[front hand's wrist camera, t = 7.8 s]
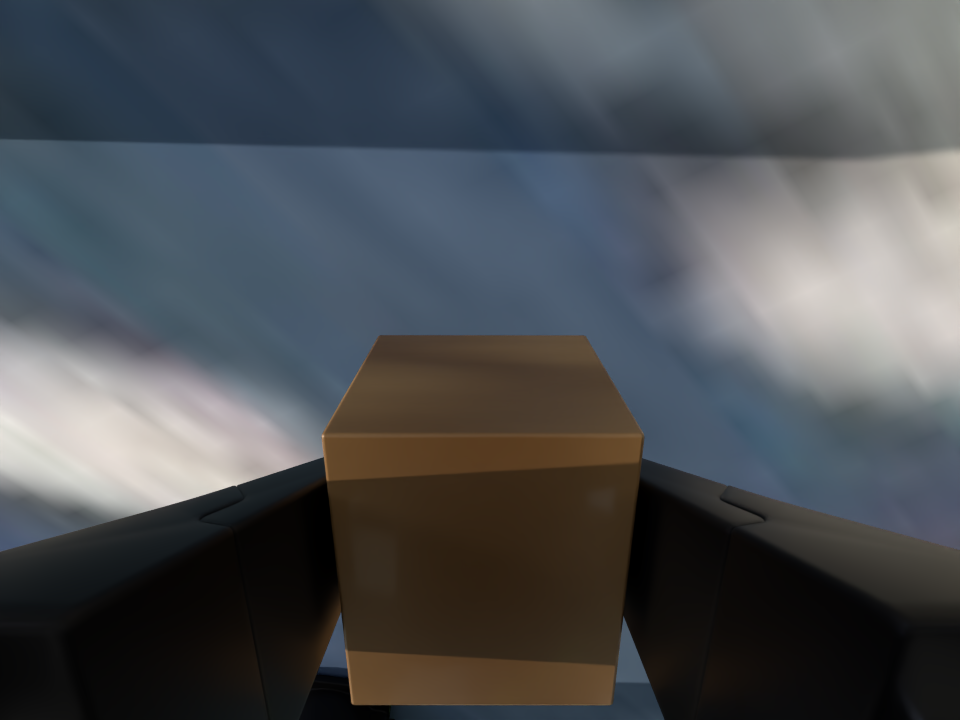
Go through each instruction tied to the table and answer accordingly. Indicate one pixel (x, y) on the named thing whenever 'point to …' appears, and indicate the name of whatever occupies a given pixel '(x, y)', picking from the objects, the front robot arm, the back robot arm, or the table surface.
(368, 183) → the table surface
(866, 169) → the table surface
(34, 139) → the table surface
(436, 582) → the brown block
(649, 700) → the table surface
